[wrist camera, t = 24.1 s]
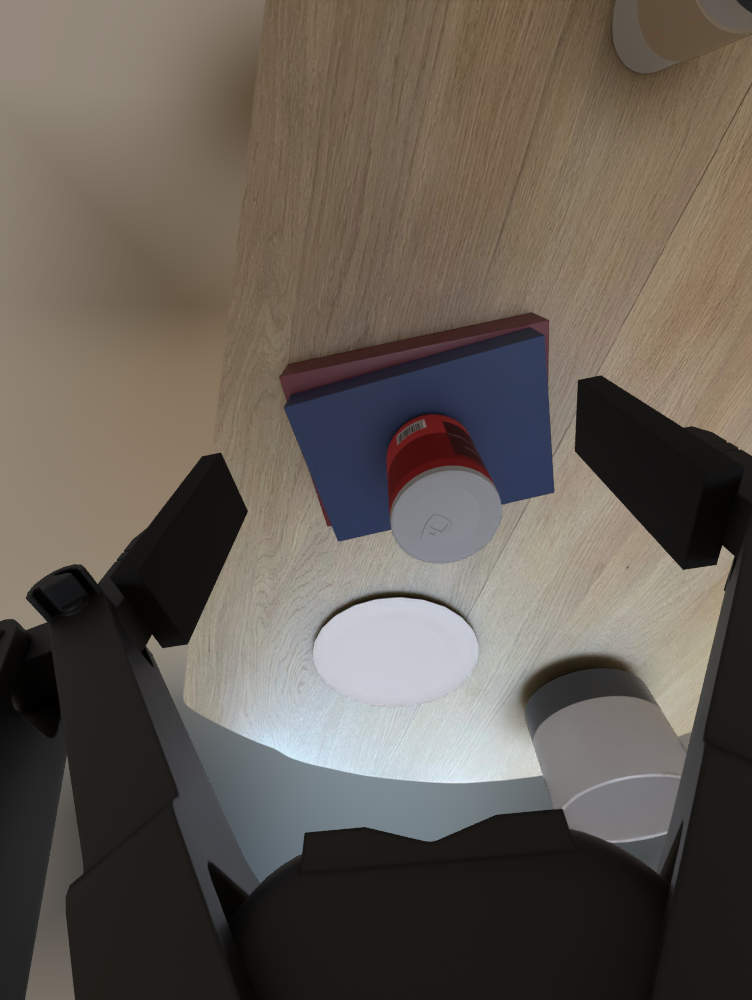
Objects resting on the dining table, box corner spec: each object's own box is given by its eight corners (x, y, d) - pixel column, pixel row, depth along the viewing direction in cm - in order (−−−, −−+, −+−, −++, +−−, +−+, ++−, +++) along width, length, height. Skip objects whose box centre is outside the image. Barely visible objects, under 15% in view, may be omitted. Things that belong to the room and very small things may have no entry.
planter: (649, 701, 72) (722, 823, 57) (540, 733, 77) (581, 853, 62) (622, 635, 63) (699, 759, 48) (501, 676, 68) (537, 800, 53)
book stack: (287, 364, 42) (271, 388, 35) (532, 312, 40) (565, 327, 33) (330, 505, 51) (324, 546, 44) (533, 469, 48) (559, 507, 41)
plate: (281, 627, 62) (278, 636, 60) (436, 564, 56) (438, 573, 54) (364, 714, 73) (363, 723, 72) (500, 670, 67) (503, 679, 66)
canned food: (376, 480, 40) (377, 553, 30) (400, 400, 36) (410, 457, 26) (452, 497, 41) (476, 574, 31) (484, 422, 37) (522, 484, 27)
